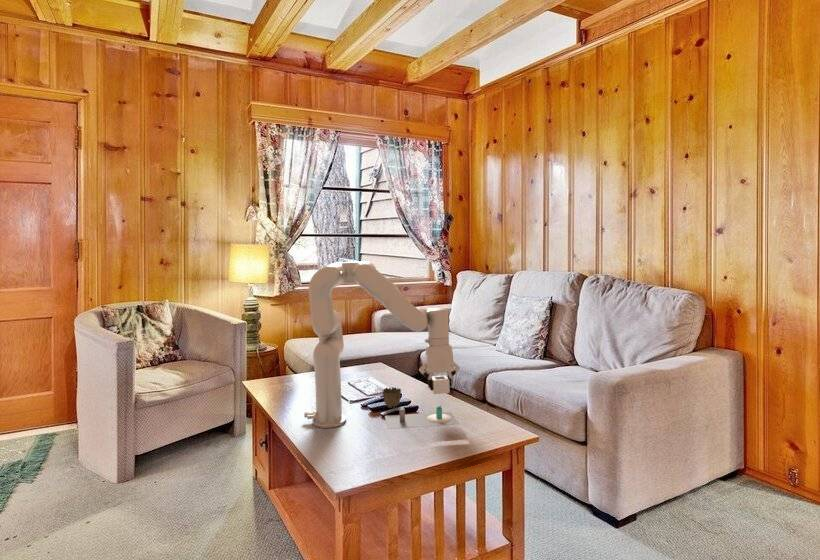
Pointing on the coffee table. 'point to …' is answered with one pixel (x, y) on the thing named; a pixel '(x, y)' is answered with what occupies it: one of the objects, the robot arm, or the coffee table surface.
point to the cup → (391, 396)
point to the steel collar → (440, 384)
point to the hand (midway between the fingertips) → (439, 388)
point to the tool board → (420, 419)
